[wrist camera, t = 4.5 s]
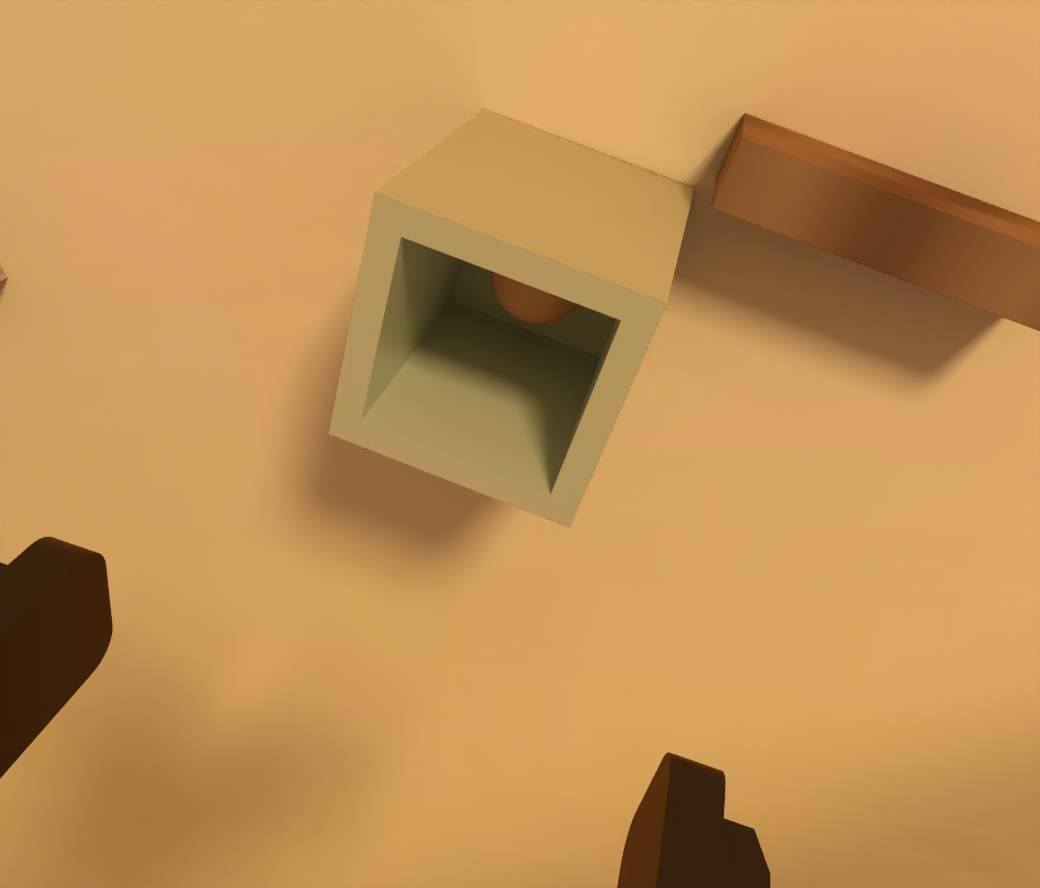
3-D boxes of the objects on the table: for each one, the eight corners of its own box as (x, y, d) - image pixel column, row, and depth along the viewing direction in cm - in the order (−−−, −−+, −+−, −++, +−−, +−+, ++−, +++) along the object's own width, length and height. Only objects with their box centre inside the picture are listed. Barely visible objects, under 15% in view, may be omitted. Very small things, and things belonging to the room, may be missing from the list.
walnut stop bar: (1072, 234, 25) (1106, 272, 22) (1029, 295, 26) (1057, 337, 23) (744, 113, 25) (742, 137, 22) (716, 178, 26) (711, 208, 24)
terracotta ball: (607, 232, 27) (592, 266, 24) (577, 314, 29) (560, 354, 26) (518, 199, 27) (494, 229, 25) (494, 282, 29) (468, 319, 26)
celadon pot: (694, 188, 26) (667, 302, 19) (616, 373, 30) (569, 527, 23) (482, 108, 27) (375, 191, 19) (433, 303, 31) (328, 433, 23)
